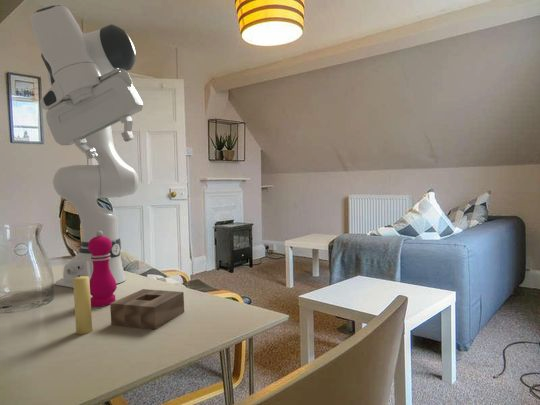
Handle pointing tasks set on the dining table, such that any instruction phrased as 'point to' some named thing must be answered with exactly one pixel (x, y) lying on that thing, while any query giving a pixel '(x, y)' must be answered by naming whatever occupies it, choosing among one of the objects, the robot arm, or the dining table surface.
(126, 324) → the socket block
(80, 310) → the dowel
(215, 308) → the dining table surface
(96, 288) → the pepper mill
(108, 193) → the robot arm
